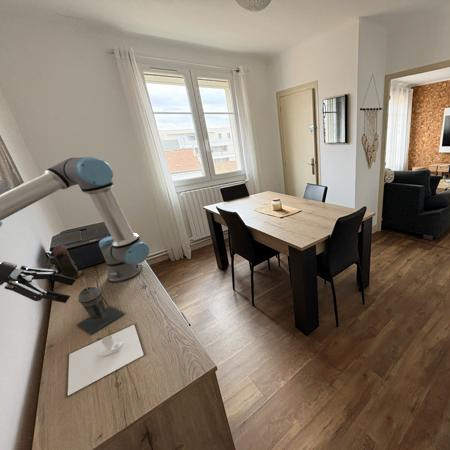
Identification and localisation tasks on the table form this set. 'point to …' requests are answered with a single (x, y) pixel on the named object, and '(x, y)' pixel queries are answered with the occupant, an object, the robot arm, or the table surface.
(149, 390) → the table surface
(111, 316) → the mat
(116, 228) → the robot arm
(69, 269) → the statue
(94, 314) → the beverage cup
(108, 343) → the teacup and saucer
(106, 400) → the table surface
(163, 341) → the table surface
